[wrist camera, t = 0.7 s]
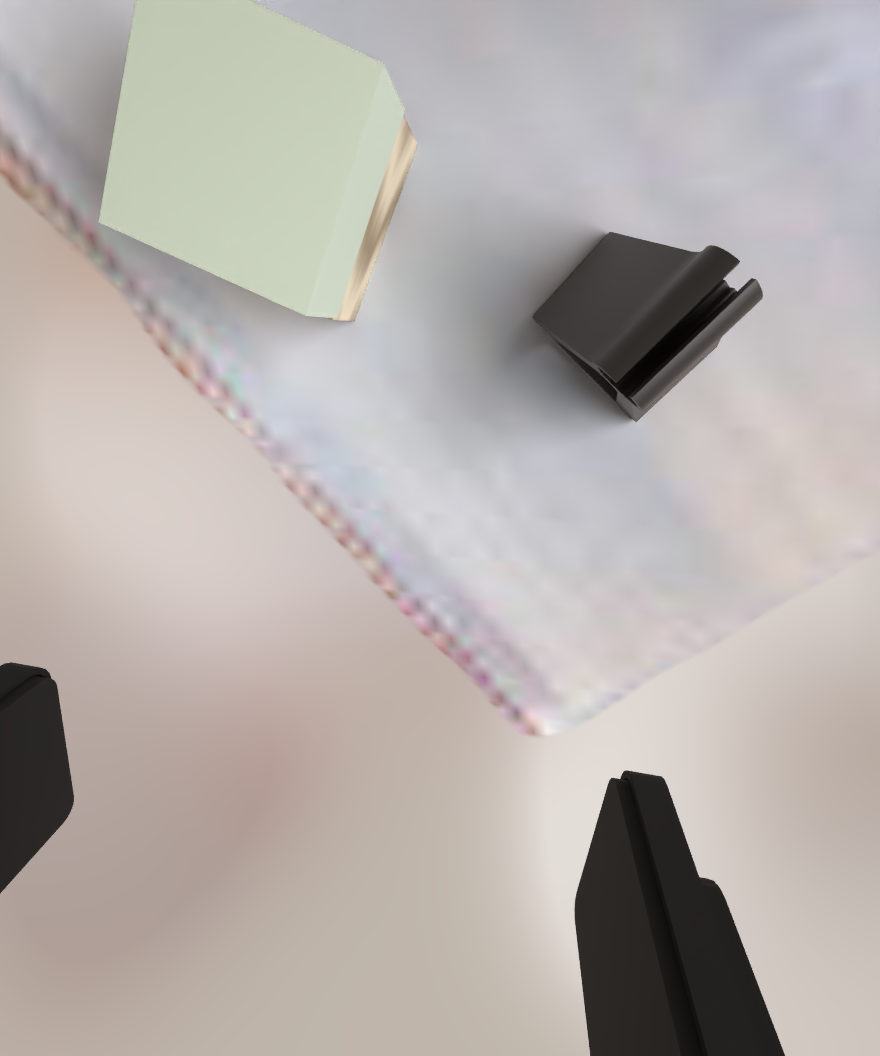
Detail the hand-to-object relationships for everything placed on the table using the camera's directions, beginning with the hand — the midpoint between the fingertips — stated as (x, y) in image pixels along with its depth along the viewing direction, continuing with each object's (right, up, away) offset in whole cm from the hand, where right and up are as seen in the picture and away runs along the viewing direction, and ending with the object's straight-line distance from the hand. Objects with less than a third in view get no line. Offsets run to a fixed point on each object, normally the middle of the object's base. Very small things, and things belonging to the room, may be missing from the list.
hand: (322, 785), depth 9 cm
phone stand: (+13, +16, +24) cm, 31 cm away
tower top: (-6, +22, +19) cm, 29 cm away
